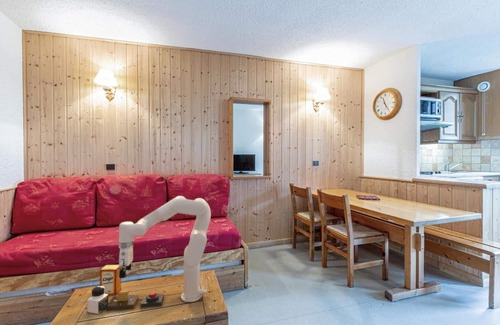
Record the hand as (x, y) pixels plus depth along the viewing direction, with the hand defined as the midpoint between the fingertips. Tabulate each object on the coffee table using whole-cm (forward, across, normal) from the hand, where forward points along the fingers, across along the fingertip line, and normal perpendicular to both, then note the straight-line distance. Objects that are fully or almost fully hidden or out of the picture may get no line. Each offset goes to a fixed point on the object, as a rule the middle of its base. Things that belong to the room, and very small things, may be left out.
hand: (125, 273), depth 142 cm
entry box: (+17, 0, -15) cm, 23 cm away
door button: (+14, 0, -15) cm, 21 cm away
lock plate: (+18, 0, +1) cm, 18 cm away
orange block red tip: (+15, 0, +1) cm, 15 cm away
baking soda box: (+18, +15, +13) cm, 26 cm away
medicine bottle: (+18, -3, +13) cm, 22 cm away
